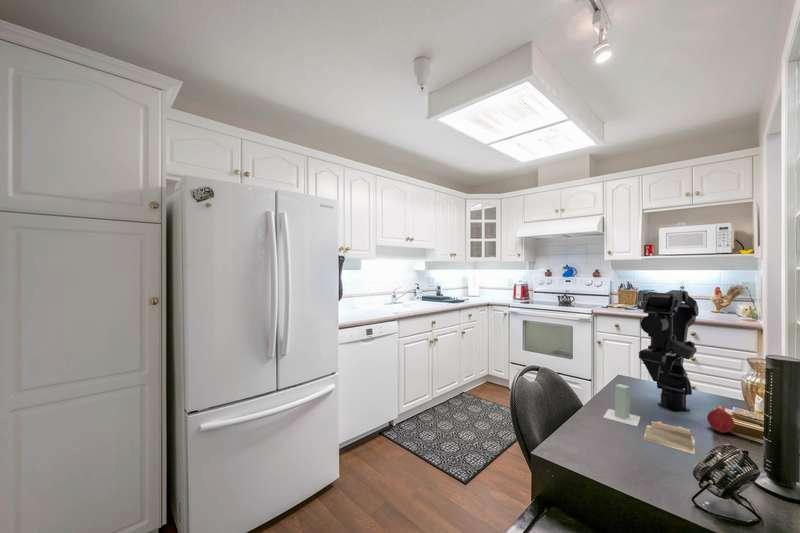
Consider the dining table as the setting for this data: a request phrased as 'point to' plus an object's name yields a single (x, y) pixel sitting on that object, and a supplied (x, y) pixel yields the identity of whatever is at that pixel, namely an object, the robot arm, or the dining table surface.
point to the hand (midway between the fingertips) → (661, 378)
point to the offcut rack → (670, 436)
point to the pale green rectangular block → (622, 401)
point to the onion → (720, 420)
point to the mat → (631, 420)
